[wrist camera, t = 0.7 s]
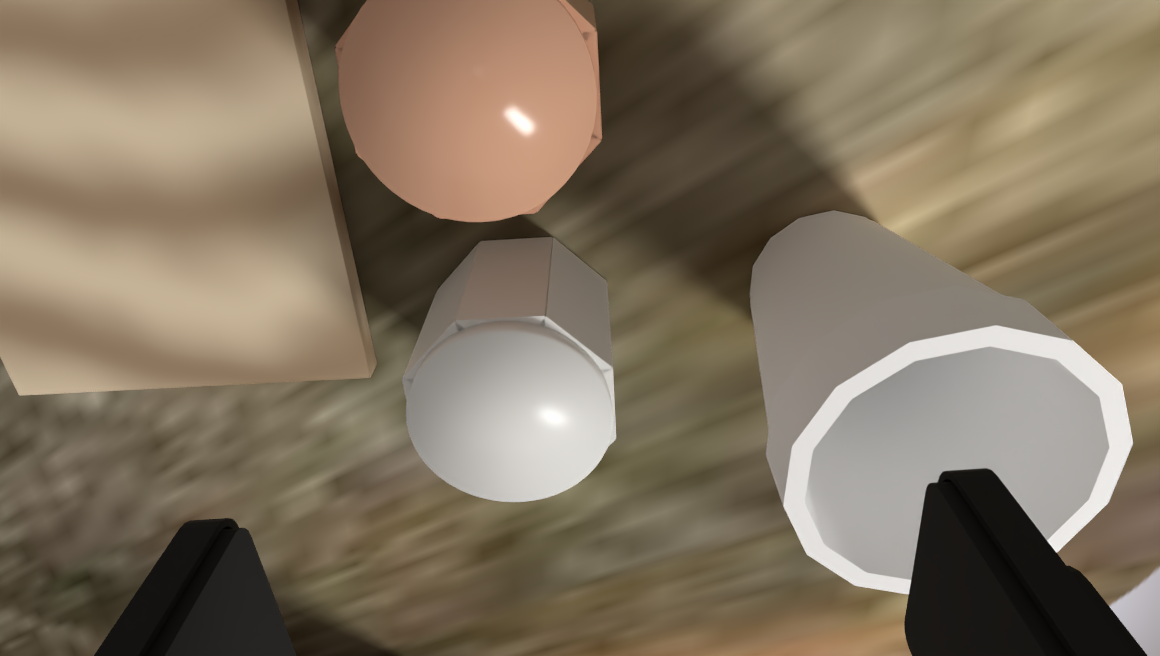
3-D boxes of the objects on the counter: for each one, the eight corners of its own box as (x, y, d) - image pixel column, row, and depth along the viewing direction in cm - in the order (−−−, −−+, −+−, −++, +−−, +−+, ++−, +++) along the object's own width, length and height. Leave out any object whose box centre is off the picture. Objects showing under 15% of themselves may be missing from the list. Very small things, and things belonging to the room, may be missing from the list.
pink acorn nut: (380, -48, 27) (307, -37, 19) (590, -62, 26) (593, -57, 19) (415, 159, 30) (363, 231, 23) (600, 148, 30) (606, 218, 23)
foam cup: (687, 351, 34) (739, 567, 23) (751, 153, 30) (856, 296, 18) (883, 388, 35) (1029, 614, 24) (973, 202, 31) (1204, 367, 19)
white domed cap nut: (428, 243, 32) (385, 335, 25) (604, 233, 32) (610, 323, 24) (453, 391, 35) (421, 508, 28) (611, 383, 35) (619, 499, 28)
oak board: (-169, -52, 27) (-200, -51, 25) (279, -83, 26) (266, -84, 25) (36, 381, 35) (19, 395, 34) (376, 363, 35) (370, 377, 33)
